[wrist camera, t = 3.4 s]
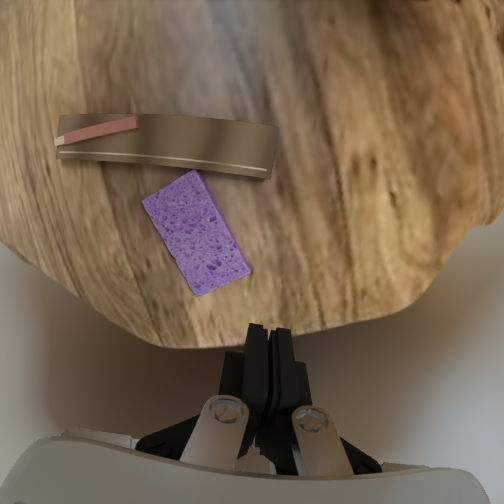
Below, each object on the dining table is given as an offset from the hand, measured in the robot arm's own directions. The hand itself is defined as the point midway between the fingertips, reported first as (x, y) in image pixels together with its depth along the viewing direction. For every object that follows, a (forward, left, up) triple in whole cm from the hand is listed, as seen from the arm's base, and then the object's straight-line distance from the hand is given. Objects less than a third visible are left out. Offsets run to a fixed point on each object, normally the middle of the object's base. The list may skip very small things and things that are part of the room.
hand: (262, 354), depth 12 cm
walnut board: (+12, -7, -21) cm, 26 cm away
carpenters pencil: (+18, -8, -19) cm, 27 cm away
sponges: (+7, +2, -22) cm, 23 cm away
